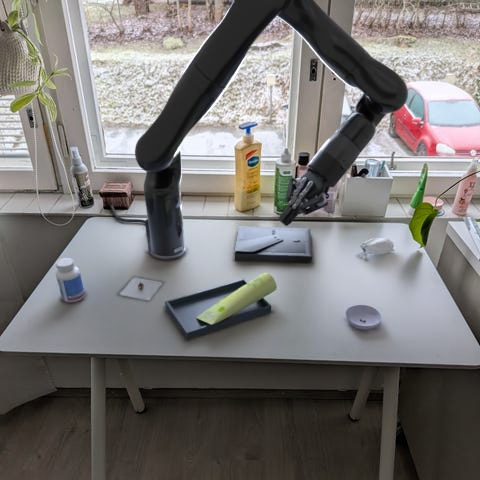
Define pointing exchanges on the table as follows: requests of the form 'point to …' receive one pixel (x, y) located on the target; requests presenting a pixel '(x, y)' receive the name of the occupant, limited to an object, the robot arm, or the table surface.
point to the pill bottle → (69, 280)
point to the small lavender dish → (363, 317)
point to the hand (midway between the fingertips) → (282, 223)
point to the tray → (198, 302)
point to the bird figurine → (376, 246)
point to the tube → (240, 299)
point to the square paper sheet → (141, 288)
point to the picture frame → (273, 244)
